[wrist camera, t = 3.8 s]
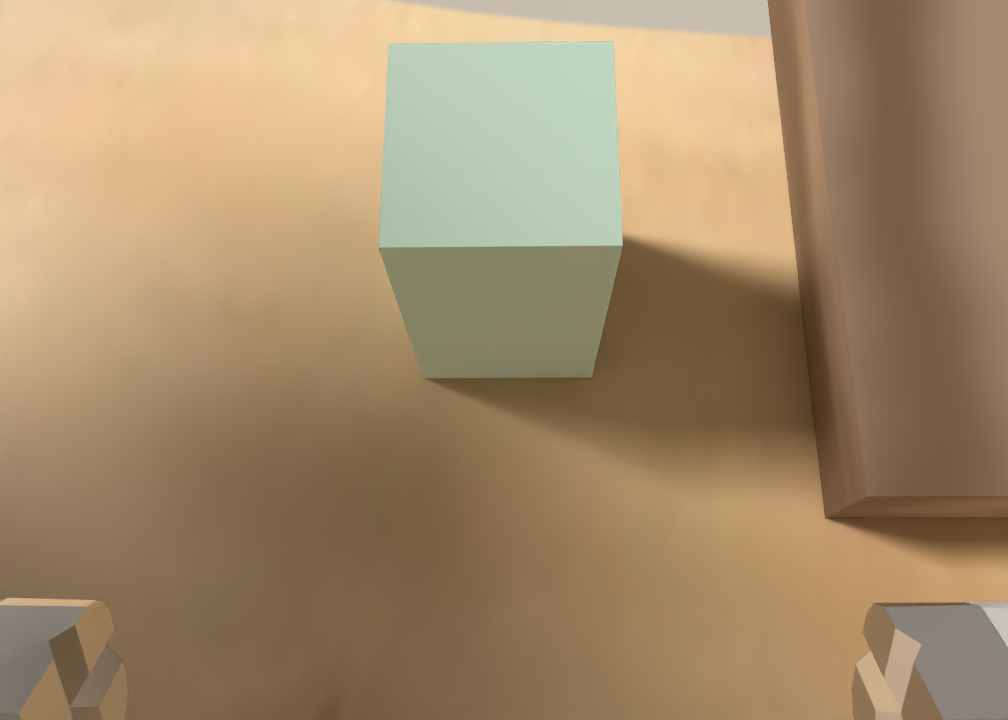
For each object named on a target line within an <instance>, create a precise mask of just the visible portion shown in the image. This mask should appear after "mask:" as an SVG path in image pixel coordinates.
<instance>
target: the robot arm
mask: <svg viewBox="0 0 1008 720" xmlns="http://www.w3.org/2000/svg"><path fill="white" fill-rule="evenodd" d="M114 629H115V628H114V625H113V621H112V618H111V615H110V612H109V609H108V605H106V604H104V603H102V602H100V601H98V600H74V599H38V598H7V599H1V598H0V720H124V716H125V711H126V706H127V702H128V682H127V674H126V670H125V666H124V662H123V660H122V659H121V658H120V657H119V656H117V655H116V654H115V653H114V652H113V651H112V650H111V649H109V648H108V647H107V646H106V644H107V642H108V640H109V638H110V637H111V635H112V633H113V631H114ZM863 634H864V636H865V639H866V641H867V643H868V645H869V647H870V650H871V651H870V652H869V653H868V654H867V655H865V656H864V657H863V658H862V659H861V660H860V661H859V662H858V663H857V664H856V666H855V672H854V678H853V684H852V703H853V716H854V720H1008V601H977V602H970V603H873V604H872V606H871V607H870V609H869V610H868V612H867V614H866V619H865V623H864V627H863Z"/></svg>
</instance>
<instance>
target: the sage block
mask: <svg viewBox="0 0 1008 720" xmlns="http://www.w3.org/2000/svg"><path fill="white" fill-rule="evenodd" d="M622 247H623V238H622V215H621V193H620V171H619V149H618V127H617V104H616V82H615V60H614V41H584V42H502V43H421V44H389V50H388V71H387V91H386V111H385V131H384V151H383V171H382V191H381V211H380V231H379V250H380V253H381V256H382V259H383V261H384V264H385V267H386V270H387V273H388V276H389V279H390V282H391V285H392V288H393V291H394V294H395V296H396V299H397V302H398V305H399V308H400V311H401V314H402V317H403V320H404V323H405V326H406V329H407V331H408V334H409V337H410V340H411V343H412V346H413V349H414V352H415V355H416V358H417V361H418V364H419V366H420V369H421V372H422V375H423V378H574V377H592V375H593V371H594V366H595V362H596V358H597V354H598V349H599V345H600V341H601V337H602V332H603V328H604V324H605V319H606V315H607V311H608V307H609V302H610V298H611V294H612V290H613V285H614V281H615V277H616V273H617V268H618V264H619V260H620V256H621V251H622Z"/></svg>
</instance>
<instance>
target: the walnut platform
mask: <svg viewBox="0 0 1008 720" xmlns="http://www.w3.org/2000/svg"><path fill="white" fill-rule="evenodd" d="M768 7H769V16H770V25H771V33H772V43H773V52H774V61H775V70H776V79H777V88H778V97H779V106H780V115H781V124H782V133H783V142H784V152H785V161H786V170H787V179H788V188H789V197H790V206H791V215H792V224H793V233H794V242H795V251H796V260H797V269H798V278H799V287H800V296H801V305H802V314H803V323H804V332H805V341H806V350H807V359H808V368H809V377H810V386H811V395H812V404H813V413H814V422H815V431H816V440H817V449H818V458H819V467H820V476H821V485H822V494H823V503H824V512H825V518H1008V0H768Z"/></svg>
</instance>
